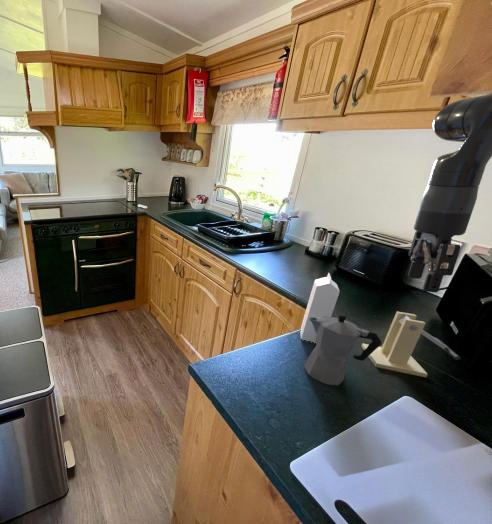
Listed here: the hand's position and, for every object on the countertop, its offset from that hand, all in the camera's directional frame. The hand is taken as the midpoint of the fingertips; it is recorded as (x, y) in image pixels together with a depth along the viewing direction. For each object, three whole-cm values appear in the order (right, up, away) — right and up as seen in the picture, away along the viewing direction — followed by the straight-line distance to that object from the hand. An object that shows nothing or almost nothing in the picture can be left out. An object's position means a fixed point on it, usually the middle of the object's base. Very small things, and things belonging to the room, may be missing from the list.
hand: (421, 284), depth 63 cm
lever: (+17, -16, +18) cm, 29 cm away
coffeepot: (-11, -26, +15) cm, 31 cm away
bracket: (+12, -24, +22) cm, 35 cm away
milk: (-6, -20, +31) cm, 37 cm away
